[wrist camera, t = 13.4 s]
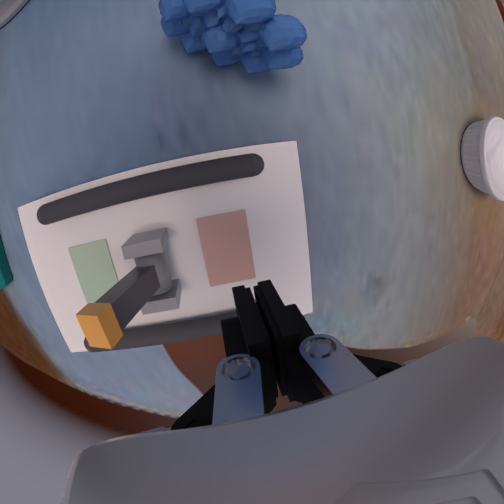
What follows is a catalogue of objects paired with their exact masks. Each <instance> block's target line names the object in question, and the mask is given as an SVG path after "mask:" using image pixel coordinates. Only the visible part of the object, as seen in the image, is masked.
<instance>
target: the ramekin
mask: <svg viewBox="0 0 504 504" xmlns="http://www.w3.org/2000/svg"><path fill="white" fill-rule="evenodd" d="M461 159H462V164H463V168H464V171H465V174H466V176H467V178H468V180H469V181H470V183H471V184H472V185H473V186H474V187H475V188H477V189H478V190H480V191H482V192H484V193H487V194H489V195H491V196H492V197H493V198H495V199H497V200H500V201H504V120H503V119H502V118H500V117H495V116H493V117H489V118H488V119H486V120H482V121H478V122H474V123H472V124H471V125H470V126H468V128H467V129H466V131H465V133H464V135H463V138H462V144H461Z"/></svg>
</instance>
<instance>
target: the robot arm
mask: <svg viewBox="0 0 504 504" xmlns="http://www.w3.org/2000/svg"><path fill="white" fill-rule="evenodd" d="M27 2H28V0H0V28H1V27H2V26H4V25H5V24H6V23H7V22H8V21H9V20H11V19H12V18H13V17H14V16H15V15H16V14H17V13H18V12H19V11H20V10H21V9H22V7H23V6H24V5H25V4H26V3H27ZM253 289H254V295H255V299H254V297H253V294H252V292H251V289H250V287H248V288H245V286H244V285H241V286H236V287H232V292H233V297H234V302H235V307H236V312H237V317H232V318H228V319H223V320H220V321H221V327H222V333H223V339H224V345H225V351H226V357H227V358H225V359H224V360H222V361H221V363H220V364H219V365H218V367H217V372H216V383H215V385H214V386H213V387H212V388H211V389H209V390H208V391H207V392H206V393H205V394H204V395H203V396H202V397H201V398H200V399H199V400H198V401H197V402H196V403H195V404H194V405H193V406H191V407H190V408H189V409H188V410H187V411H186V412H185V413H184V414H183V415H182V416H181V417H179V418H178V419H177V420H176V421H175V423H174V424H173V425H172V427H171V428H168V429H165V428H164V427H160V428H157V429H153V430H150V431H145V432H142V433H137V434H133V435H128V436H122V437H117V438H113V439H109V440H106V441H103V442H100V443H97V444H95V445H92V446H90V447H88V448H87V449H85V450H83V451H82V452H81V453H80V454H79V455H78V456H77V457H76V458H75V460H74V462H73V463H72V465H71V468H70V470H69V473H68V477H67V479H66V483H65V488H64V492H63V497H62V503H61V504H504V343H502V342H500V341H499V340H497V339H495V338H492V337H488V336H481V337H473V338H467V339H464V340H461V341H457V342H455V343H452V344H450V345H447V346H445V347H443V348H441V349H439V350H437V351H435V352H433V353H431V354H428V355H426V356H424V357H422V358H418V359H415V360H411V361H406V362H404V363H403V365H402V366H401V365H399V364H397V363H393V362H389V361H384V360H379V359H374V358H369V357H364V356H359V355H355V354H352V353H351V352H350V351H349V350H348V349H347V348H346V347H345V346H344V345H343V344H342V343H341V342H340V341H339V340H337V339H336V338H335V337H333V336H330V335H325V334H318V335H315V334H314V332H313V331H312V329H311V328H310V326H309V324H308V323H307V321H306V320H305V318H304V317H303V315H302V313H301V312H300V310H299V309H298V307H297V305H296V304H290V305H286V306H285V305H284V303H283V301H282V300H281V298H280V296H279V294H278V293H277V291H276V289H275V287H274V285H273V284H272V282H271V280H270V279H269V280H265V281H260V282H257V286H253ZM255 301H256V302H255ZM276 381H277V382H276ZM277 383H278V386H279V389H280V391H281V394H282V396H284V395H287V396H288V399H289V401H290V402H292V401H298V402H301V403H302V405H298V406H295V407H291V408H287V409H284V410H280V411H276V412H272V413H270V412H271V411H272V410H273V408H274V407H275V406H276V398H277V397H278V390H277Z"/></svg>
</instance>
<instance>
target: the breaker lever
mask: <svg viewBox="0 0 504 504" xmlns="http://www.w3.org/2000/svg"><path fill="white" fill-rule="evenodd" d="M134 260H135V264H136V267H135V268H134V269H132V270H131V271H130V272H129V273H128V274H127V275H125V276H124V277H123V278H122V279H121V280H120V281H118V282H117V283H116V284H115V285H114V286H113V287H111V288H110V289H109V290H108V291H107V292H106V293H105V294H104V295H102V296H101V297H100V298H99V299H98V300H97V301H96V302H95V303H88V304H87V305H86V306H84V307H83V308H82V309H81V310H80V311H79V312H78V313H77V314H76V317H77V320H78V322H79V324H80V326H81V329H82V331H83V333H84V335H85V337H86V339H87V341H88V343H89V345H90V346H91V347H98V348H106V349H113V347H114V346H115V345H116V344H117V343H118V341H119V340H120V339H121V338H122V336H123V333H122V331H123V329H124V328H125V327H126V326H127V325H128V323H129V322H130V321H131V320H132V319H133V318H134V316H135V315H136V314H137V313H138V312H139V311H140V309H141V308H142V307H143V306H144V305H145V304H146V303H147V301H148V300H149V299H150V298H151V297H152V296H156V295H160V294H163V293H165V292H167V291H169V290H170V289H171V288H172V287H173V284H172V281H171V277H170V273H169V270H168V266H167V262H166V258H165V254H164V252H162V253H157V254H152V255H147V256H142V257H137V258H134Z"/></svg>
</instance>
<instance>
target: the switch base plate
mask: <svg viewBox="0 0 504 504" xmlns="http://www.w3.org/2000/svg"><path fill="white" fill-rule="evenodd" d="M250 153H255V154H258V155H259V156H261V157H262V159H263V161H264V169H263V171H262V172H261V173H260V174H259V175H257V176H253V177H247V178H241V179H235V180H229V181H223V182H218V183H212V184H207V185H202V186H197V187H192V188H187V189H182V190H177V191H172V192H168V193H163V194H159V195H154V196H150V197H146V198H141V199H137V200H133V201H129V202H125V203H121V204H117V205H113V206H110V207H106V208H102V209H99V210H95V211H91V212H88V213H84V214H81V215H77V216H74V217H71V218H67V219H64V220H61V221H58V222H55V223H51V224H48V225H43V224H41V223H39V221H38V220H37V211H38V209H39V207H40V206H42V205H43V204H46V203H49V202H52V201H55V200H57V199H60V198H63V197H66V196H69V195H72V194H75V193H79V192H82V191H85V190H88V189H91V188H95V187H98V186H101V185H105V184H108V183H112V182H116V181H119V180H123V179H127V178H130V177H134V176H138V175H142V174H146V173H150V172H155V171H159V170H163V169H168V168H172V167H177V166H182V165H187V164H192V163H197V162H202V161H207V160H213V159H218V158H224V157H230V156H236V155H243V154H250ZM18 212H19V216H20V220H21V224H22V228H23V232H24V236H25V239H26V243H27V246H28V249H29V253H30V256H31V259H32V262H33V265H34V268H35V271H36V274H37V276H38V279H39V282H40V285H41V287H42V290H43V292H44V295H45V297H46V300H47V302H48V305H49V307H50V309H51V311H52V314H53V316H54V318H55V320H56V323H57V325H58V327H59V329H60V331H61V333H62V335H63V337H64V339H65V341H66V343H67V345H68V347H69V349H70V351H71V352H81V351H88V350H87V349H86V348H85V346H84V339H85V335H84V333H83V331H82V329H81V326H80V324H79V322H78V320H77V317H76V314H77V313H78V312H79V311H80V310H81V309H82V308H83V307H84V306H86V305H87V304H88V303H95V302H96V301H97V300H98V299H99V298H100V297H101V296H102V295H104V294H105V293H106V292H107V291H108V290H109V289H110V288H111V287H113V286H114V285H115V284H116V283H117V282H118V281H120V280H121V279H122V278H123V277H124V276H125V275H127V274H128V273H129V272H130V271H131V270H132V269H134V268H135V267H136V264H135V260H134V258H137V257H142V256H147V255H152V254H157V253H162V252H164V254H165V258H166V262H167V266H168V270H169V273H170V277H171V281H172V284H173V287H172V288H171V289H170V290H169V291H167V292H165V293H163V294H160V295H156V296H152V297H151V298H150V299H149V300H148V301H147V303H146V304H145V305H144V306H143V307H142V308H141V309H140V311H139V312H138V313H137V314H136V315H135V316H134V318H133V319H132V320H131V321H130V322H129V323H128V325H127V326H126V327H125V328H124V329H123V330H128V329H135V328H142V327H149V326H155V325H161V324H168V323H174V322H180V321H186V320H191V319H197V318H203V317H208V316H214V315H219V314H224V313H229V312H234V311H236V307H235V302H234V297H233V292H232V287H236V286H241V285H244V286H245V288H248V287H250V289H251V292H252V294H253V297H254V299H255V295H254V289H253V286H257V282H260V281H265V280H269V279H270V280H271V282H272V284H273V285H274V287H275V289H276V291H277V293H278V294H279V296H280V298H281V300H282V301H283V303H284V305H285V306H286V305H290V304H296V305H297V307H298V309H299V310H300V312H301V313H302V315H304V314H308V313H312V312H313V307H312V289H311V274H310V261H309V249H308V237H307V227H306V216H305V207H304V198H303V189H302V181H301V172H300V165H299V157H298V150H297V143H296V141H288V142H278V143H270V144H262V145H254V146H247V147H240V148H233V149H227V150H221V151H215V152H210V153H204V154H199V155H194V156H189V157H184V158H179V159H174V160H170V161H165V162H161V163H157V164H152V165H148V166H144V167H140V168H136V169H132V170H129V171H125V172H121V173H118V174H114V175H110V176H107V177H104V178H100V179H97V180H94V181H90V182H87V183H84V184H81V185H78V186H75V187H72V188H69V189H66V190H63V191H60V192H57V193H55V194H52V195H49V196H46V197H44V198H41V199H38V200H36V201H33V202H31V203H28V204H26V205H23V206H21V207H18ZM255 302H256V301H255Z"/></svg>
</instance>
